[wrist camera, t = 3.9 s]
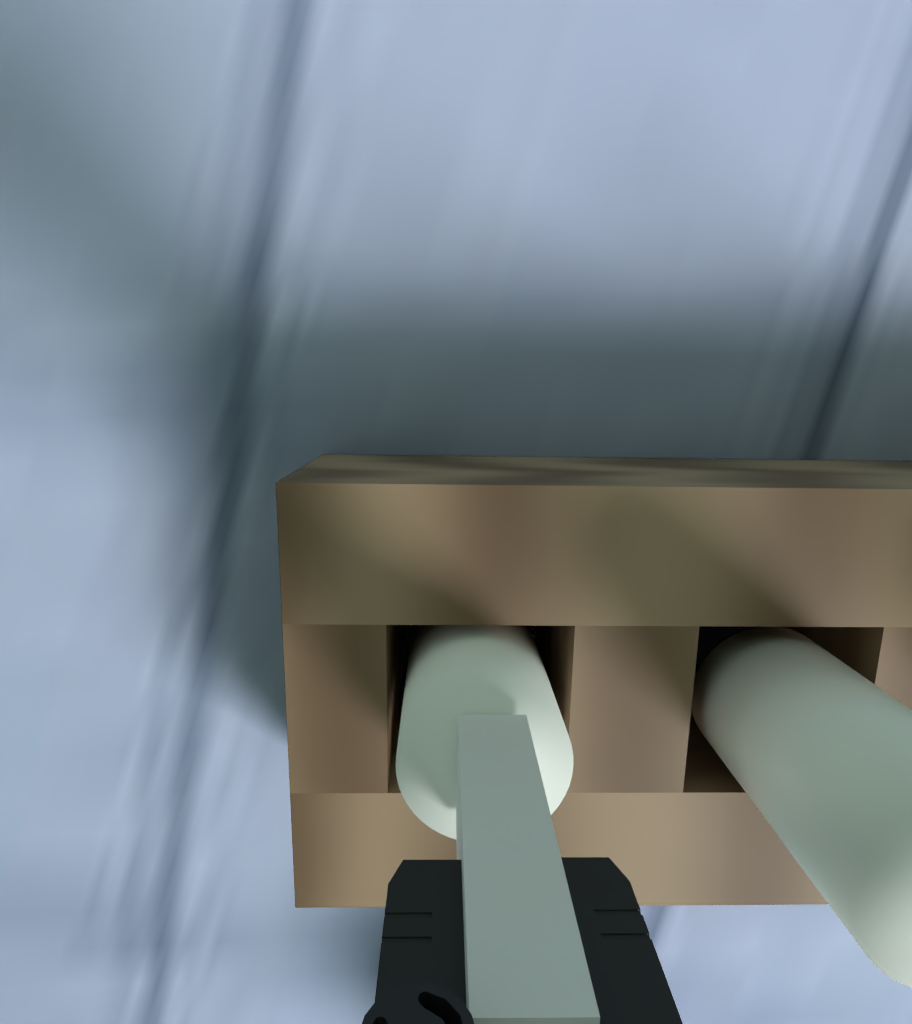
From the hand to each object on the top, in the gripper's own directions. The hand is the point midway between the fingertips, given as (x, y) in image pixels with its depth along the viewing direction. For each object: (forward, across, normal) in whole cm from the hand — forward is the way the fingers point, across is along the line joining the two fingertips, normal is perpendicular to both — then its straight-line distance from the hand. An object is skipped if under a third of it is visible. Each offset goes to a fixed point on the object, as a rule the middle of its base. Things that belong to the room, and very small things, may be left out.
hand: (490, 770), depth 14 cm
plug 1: (+7, 0, 0) cm, 7 cm away
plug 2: (+4, +8, 0) cm, 9 cm away
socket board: (+9, +8, 0) cm, 12 cm away
